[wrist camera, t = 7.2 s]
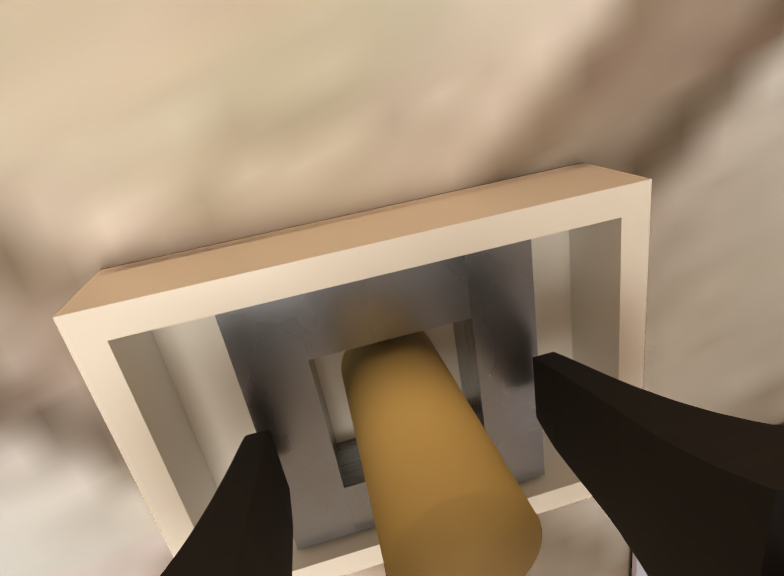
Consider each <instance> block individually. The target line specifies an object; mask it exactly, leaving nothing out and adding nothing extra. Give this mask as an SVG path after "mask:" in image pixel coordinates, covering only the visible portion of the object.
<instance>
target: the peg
mask: <svg viewBox="0 0 784 576" xmlns="http://www.w3.org/2000/svg"><path fill="white" fill-rule="evenodd" d="M341 373H342V378H343V382H344V387H345V391H346V396H347V400H348V405H349V409H350V414H351V418H352V423H353V427H354V432H355V436H356V441H357V445H358V450H359V454H360V459H361V463H362V468H363V472H364V477H365V481H366V486H367V490H368V495H369V500H370V504H371V509H372V513H373V518H374V522H375V527H376V531H377V536H378V540H379V545H380V549H381V554H382V558H383V563H384V567H385V572H386V576H525V575H526V574H527V572H528V571H529V569H530V568H531V567H532V565H533V563H534V562H535V560H536V558H537V555H538V553H539V550H540V547H541V542H542V528H541V523H540V520H539V518H538V516H537V514H536V512H535V511H534V509H533V507H532V506H531V504H530V502H529V501H528V499H527V498H526V496H525V494H524V493H523V491H522V489H521V488H520V486H519V484H518V483H517V481H516V479H515V478H514V476H513V475H512V473H511V471H510V470H509V468H508V466H507V465H506V463H505V461H504V460H503V458H502V456H501V455H500V453H499V452H498V450H497V448H496V447H495V445H494V443H493V442H492V440H491V438H490V437H489V435H488V434H487V432H486V430H485V429H484V427H483V425H482V424H481V422H480V420H479V419H478V417H477V415H476V414H475V412H474V411H473V409H472V407H471V406H470V404H469V402H468V401H467V399H466V397H465V396H464V394H463V392H462V391H461V389H460V388H459V386H458V384H457V383H456V381H455V379H454V378H453V376H452V374H451V373H450V371H449V370H448V368H447V366H446V365H445V363H444V361H443V360H442V358H441V356H440V355H439V353H438V351H437V350H436V348H435V347H434V345H433V343H432V342H431V340H430V339H429V337H428V336H427V335H426V333H425V332H424V331H419V332H415V333H412V334H408V335H404V336H400V337H396V338H392V339H388V340H384V341H381V342H377V343H373V344H369V345H365V346H361V347H357V348H353V349H349V350H346V351H345V352H344V355H343V358H342V363H341Z"/></svg>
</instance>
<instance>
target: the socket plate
mask: <svg viewBox="0 0 784 576" xmlns="http://www.w3.org/2000/svg"><path fill="white" fill-rule="evenodd" d="M215 317H216V320H217V323H218V326H219V329H220V332H221V334H222V337H223V340H224V343H225V346H226V349H227V351H228V354H229V357H230V360H231V363H232V365H233V368H234V371H235V374H236V377H237V380H238V382H239V385H240V388H241V391H242V394H243V397H244V399H245V402H246V405H247V408H248V411H249V413H250V416H251V419H252V422H253V425H254V428H255V430H256V433H257V432H260V431H264V430H268V429H270V432H271V435H272V438H273V441H274V444H275V447H276V450H277V453H278V456H279V459H280V462H281V465H282V468H283V471H284V473H285V476H286V479H287V482H288V485H289V488H290V497H291V507H292V518H293V538H294V541H295V543H296V546H297V549H298V550H299V549H302V548H305V547H309V546H312V545H315V544H319V543H322V542H325V541H328V540H332V539H335V538H338V537H341V536H345V535H348V534H351V533H355V532H358V531H361V530H364V529H368V528H371V527H374V526H375V522H374V518H373V513H372V509H371V504H370V500H369V495H368V490H367V486H366V481H365V477H364V472H363V468H362V463H361V459H360V454H359V450H358V445H357V441H356V438H354V439H350V440H347V441H343V442H340V443H337V442H336V439H335V435H334V431H333V428H332V424H331V421H330V417H329V413H328V410H327V406H326V402H325V399H324V395H323V391H322V388H321V384H320V380H319V377H318V373H317V369H316V366H315V362H314V359H315V358H318V357H322V356H326V355H330V354H334V353H338V352H342V351H346V350H349V349H353V348H357V347H361V346H365V345H369V344H373V343H377V342H381V341H384V340H388V339H392V338H396V337H400V336H404V335H408V334H412V333H415V332H419V331H423V330H427V329H431V328H435V327H439V326H443V325H447V324H450V323H453V328H454V336H455V343H456V351H457V358H458V365H459V373H460V380H461V387H462V392H463V394H464V396H465V397H466V399H467V401H468V402H469V404H470V406H471V407H472V409H473V411H474V412H475V414H476V415H477V417H478V419H479V420H480V422H481V424H482V425H483V427H484V429H485V430H486V432H487V434H488V435H489V437H490V438H491V440H492V442H493V443H494V445H495V447H496V448H497V450H498V452H499V453H500V455H501V456H502V458H503V460H504V461H505V463H506V465H507V466H508V468H509V470H510V471H511V473H512V475H513V476H514V478H515V479H516V481H517V483H518V482H521V481H524V480H528V479H531V478H534V477H538V476H541V475H544V474H545V468H544V451H543V434H542V426H541V425H540V423H539V421H538V419H537V418H536V405H535V389H534V373H533V358H532V357H535V356H538V348H537V331H536V314H535V297H534V280H533V263H532V246H531V239H529V240H525V241H521V242H517V243H513V244H508V245H504V246H500V247H496V248H492V249H488V250H483V251H479V252H475V253H471V254H467V255H463V256H458V257H454V258H450V259H446V260H442V261H438V262H433V263H429V264H425V265H421V266H417V267H413V268H408V269H404V270H400V271H396V272H392V273H388V274H383V275H379V276H375V277H371V278H367V279H363V280H358V281H354V282H350V283H346V284H342V285H338V286H333V287H329V288H325V289H321V290H317V291H313V292H308V293H304V294H300V295H296V296H292V297H288V298H283V299H279V300H275V301H271V302H267V303H263V304H258V305H254V306H250V307H246V308H242V309H238V310H233V311H229V312H225V313H221V314H217V315H215Z"/></svg>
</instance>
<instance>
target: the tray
mask: <svg viewBox="0 0 784 576" xmlns="http://www.w3.org/2000/svg"><path fill="white" fill-rule="evenodd" d="M651 185H652V179H650V178H646V177H641V176H637V175H633V174H629V173H625V172H620V171H616V170H612V169H608V168H604V167H599V166H595V165H591V164H587V163H580V164H575V165H571V166H566V167H562V168H557V169H553V170H548V171H544V172H539V173H535V174H530V175H526V176H521V177H517V178H512V179H508V180H503V181H499V182H494V183H490V184H485V185H481V186H476V187H472V188H467V189H463V190H458V191H454V192H449V193H445V194H440V195H436V196H431V197H427V198H422V199H418V200H413V201H409V202H404V203H400V204H395V205H391V206H386V207H381V208H377V209H372V210H368V211H363V212H359V213H354V214H350V215H345V216H341V217H336V218H332V219H327V220H323V221H318V222H314V223H309V224H305V225H300V226H296V227H291V228H287V229H282V230H278V231H273V232H269V233H264V234H260V235H255V236H251V237H246V238H242V239H237V240H233V241H228V242H224V243H219V244H215V245H210V246H206V247H201V248H197V249H192V250H188V251H183V252H179V253H174V254H170V255H165V256H161V257H156V258H152V259H147V260H143V261H138V262H134V263H129V264H125V265H120V266H116V267H111V268H107V269H102V270H99V271H98V272H97V273H96V274H95V275H94V276H93V277H92V278H91V279H90V280H89V281H88V282H87V283H86V284H85V285H84V286H83V287H82V288H81V289H80V290H79V291H78V292H77V293H76V294H75V295H74V296H73V297H72V298H71V299H70V300H69V301H68V302H67V303H66V304H65V305H64V306H63V307H62V308H61V309H60V310H59V311H58V312H57V313H56V314H55V316H54V317H53V319H54V321H55V323H56V325H57V327H58V329H59V331H60V333H61V335H62V337H63V339H64V341H65V343H66V345H67V347H68V349H69V351H70V353H71V355H72V357H73V359H74V361H75V363H76V365H77V367H78V369H79V371H80V373H81V375H82V377H83V379H84V381H85V383H86V385H87V387H88V389H89V391H90V393H91V395H92V397H93V399H94V401H95V403H96V405H97V407H98V409H99V411H100V413H101V415H102V417H103V419H104V420H105V422H106V424H107V426H108V428H109V430H110V432H111V434H112V436H113V438H114V440H115V442H116V444H117V446H118V448H119V450H120V452H121V454H122V456H123V458H124V460H125V462H126V464H127V466H128V468H129V470H130V472H131V474H132V476H133V478H134V480H135V482H136V484H137V486H138V488H139V490H140V492H141V494H142V496H143V498H144V500H145V502H146V504H147V506H148V508H149V510H150V512H151V514H152V516H153V518H154V520H155V522H156V524H157V525H158V527H159V529H160V531H161V533H162V535H163V537H164V539H165V541H166V543H167V545H168V547H169V549H170V551H171V553H172V555H173V557H175V555H176V554H177V553H178V551H179V550H180V548H181V547H182V545H183V544H184V542H185V541H186V540H187V538H188V537H189V535H190V534H191V532H192V530H193V529H194V527H195V526H196V524H197V522H198V521H199V519H200V517H201V516H202V514H203V513H204V511H205V509H206V508H207V506H208V504H209V503H210V501H211V499H212V497H213V496H214V494H215V492H216V490H217V488H218V487H219V485H220V483H221V481H222V479H223V478H224V476H225V474H226V472H227V470H228V468H229V466H230V464H231V462H232V460H233V458H234V456H235V454H236V452H237V450H238V448H239V446H240V444H241V442H242V440H243V439H244V437H245V436H246V435H249V434H253V433H256V430H255V428H254V425H253V422H252V419H251V416H250V413H249V411H248V408H247V405H246V402H245V399H244V397H243V394H242V391H241V388H240V385H239V382H238V380H237V377H236V374H235V371H234V368H233V365H232V363H231V360H230V357H229V354H228V351H227V349H226V346H225V343H224V340H223V337H222V334H221V332H220V329H219V326H218V323H217V320H216V317H215V315H217V314H221V313H225V312H229V311H233V310H238V309H242V308H246V307H250V306H254V305H258V304H263V303H267V302H271V301H275V300H279V299H283V298H288V297H292V296H296V295H300V294H304V293H308V292H313V291H317V290H321V289H325V288H329V287H333V286H338V285H342V284H346V283H350V282H354V281H358V280H363V279H367V278H371V277H375V276H379V275H383V274H388V273H392V272H396V271H400V270H404V269H408V268H413V267H417V266H421V265H425V264H429V263H433V262H438V261H442V260H446V259H450V258H454V257H458V256H463V255H467V254H471V253H475V252H479V251H483V250H488V249H492V248H496V247H500V246H504V245H508V244H513V243H517V242H521V241H525V240H529V239H531V246H532V263H533V280H534V297H535V314H536V331H537V348H538V356H539V355H543V354H546V353H550V352H556V353H558V354H561V355H563V356H566V357H568V358H570V359H573V360H575V361H577V362H579V363H582V364H584V365H586V366H588V367H591V368H593V369H595V370H597V371H600V372H602V373H604V374H606V375H609V376H611V377H614V378H616V379H618V380H621V381H623V382H625V383H628V384H630V385H633V386H636V387H638V388H641V389H643V370H644V347H645V324H646V301H647V278H648V255H649V232H650V209H651ZM423 331H424V332H425V333H426V335H427V336H428V337H429V339H430V340H431V342H432V343H433V345H434V347H435V348H436V350H437V351H438V353H439V355H440V356H441V358H442V360H443V361H444V363H445V365H446V366H447V368H448V370H449V371H450V373H451V374H452V376H453V378H454V379H455V381H456V383H457V384H458V386H459V388H460V389H461V391H462V387H461V380H460V373H459V365H458V358H457V351H456V343H455V336H454V328H453V323H450V324H447V325H443V326H439V327H435V328H431V329H427V330H423ZM344 352H345V351H342V352H338V353H334V354H330V355H326V356H322V357H318V358H315V359H314V362H315V366H316V369H317V373H318V377H319V380H320V384H321V388H322V391H323V395H324V399H325V402H326V406H327V410H328V413H329V417H330V421H331V424H332V428H333V431H334V435H335V439H336V442H337V443H340V442H343V441H347V440H350V439H354V438H356V436H355V432H354V427H353V423H352V418H351V414H350V409H349V405H348V400H347V396H346V391H345V387H344V382H343V378H342V373H341V363H342V358H343V355H344ZM542 434H543V451H544V468H545V474H544V475H541V476H538V477H534V478H531V479H528V480H524V481H521V482H518V484H519V486H520V488H521V489H522V491H523V493H524V494H525V496H526V498H527V499H528V501H529V502H530V504H531V506H532V507H533V509H534V511H535V512H536V514H539V513H542V512H546V511H549V510H552V509H555V508H558V507H561V506H565V505H568V504H571V503H574V502H577V501H580V500H584V499H587V498H590V497H593V496H592V495H591V494H590V493H589V491H588V490H587V489H586V488H585V486H584V485H583V484H582V483H581V481H580V480H579V479H578V478H577V476H576V475H575V474H574V473H573V471H572V470H571V469H570V467H569V466H568V465H567V464H566V462H565V461H564V460H563V458H562V457H561V456H560V455H559V453H558V452H557V451H556V449H555V448H554V446H553V445H552V443H551V442H550V440H549V438H548V437H547V435H546V433H545V432H544V430H543V428H542ZM381 563H383V558H382V554H381V549H380V545H379V540H378V536H377V531H376V527H375V526H374V527H371V528H368V529H364V530H361V531H358V532H355V533H351V534H348V535H345V536H341V537H338V538H335V539H332V540H328V541H325V542H322V543H319V544H315V545H312V546H309V547H305V548H302V549H299V550H298V549H297V546H296V543H295V541H294V538H293V562H292V576H343V575H346V574H350V573H353V572H356V571H359V570H362V569H365V568H369V567H372V566H375V565H378V564H381Z"/></svg>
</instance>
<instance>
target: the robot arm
mask: <svg viewBox="0 0 784 576" xmlns="http://www.w3.org/2000/svg"><path fill="white" fill-rule="evenodd" d="M532 358H533V373H534V389H535V405H536V418H537V419H538V421H539V423H540V425H541V426H542V428H543V430H544V432H545V433H546V435H547V437H548V438H549V440H550V442H551V443H552V445H553V446H554V448H555V449H556V451H557V452H558V453H559V455H560V456H561V457H562V458H563V460H564V461H565V462H566V464H567V465H568V466H569V467H570V469H571V470H572V471H573V473H574V474H575V475H576V476H577V478H578V479H579V480H580V481H581V483H582V484H583V485H584V486H585V488H586V489H587V490H588V491H589V493H590V494H591V495H592V496H593V498H594V499H595V500H596V501H597V503H598V504H599V505H600V506H601V508H602V509H603V510H604V511H605V513H606V514H607V515H608V517H609V518H610V519H611V521H612V522H613V523H614V525H615V526H616V528H617V529H618V530H619V532H620V533H621V535H622V536H623V538H624V539H625V541H626V543H627V544H628V546H629V547H630V549H631V550H632V552H633V558H632V576H784V427H782V426H776V425H771V424H765V423H760V422H755V421H750V420H746V419H741V418H737V417H732V416H728V415H724V414H720V413H716V412H712V411H708V410H704V409H701V408H698V407H694V406H691V405H687V404H684V403H681V402H677V401H674V400H671V399H668V398H665V397H662V396H660V395H657V394H654V393H652V392H649V391H646V390H643V389H641V388H638V387H636V386H633V385H630V384H628V383H625V382H623V381H621V380H618V379H616V378H614V377H611V376H609V375H606V374H604V373H602V372H600V371H597V370H595V369H593V368H591V367H588V366H586V365H584V364H582V363H579V362H577V361H575V360H573V359H570V358H568V357H566V356H563V355H561V354H558V353H556V352H550V353H546V354H543V355H539V356H535V357H532ZM292 562H293V518H292V507H291V497H290V488H289V485H288V482H287V479H286V476H285V473H284V471H283V468H282V465H281V462H280V459H279V456H278V453H277V450H276V447H275V444H274V441H273V438H272V435H271V432H270V429H268V430H264V431H260V432H257V433H253V434H249V435H246V436H245V437H244V439H243V440H242V442H241V444H240V446H239V448H238V450H237V452H236V454H235V456H234V458H233V460H232V462H231V464H230V466H229V468H228V470H227V472H226V474H225V476H224V478H223V479H222V481H221V483H220V485H219V487H218V488H217V490H216V492H215V494H214V496H213V497H212V499H211V501H210V503H209V504H208V506H207V508H206V509H205V511H204V513H203V514H202V516H201V517H200V519H199V521H198V522H197V524H196V526H195V527H194V529H193V530H192V532H191V534H190V535H189V537H188V538H187V540H186V541H185V542H184V544H183V545H182V547H181V548H180V550H179V551H178V553H177V554H176V555H175V557H174V558H173V559H172V561H171V562H170V564H169V565H168V566H167V568H166V569H165V570H164V572H163V573H162V574H161V575H160V576H292Z"/></svg>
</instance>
